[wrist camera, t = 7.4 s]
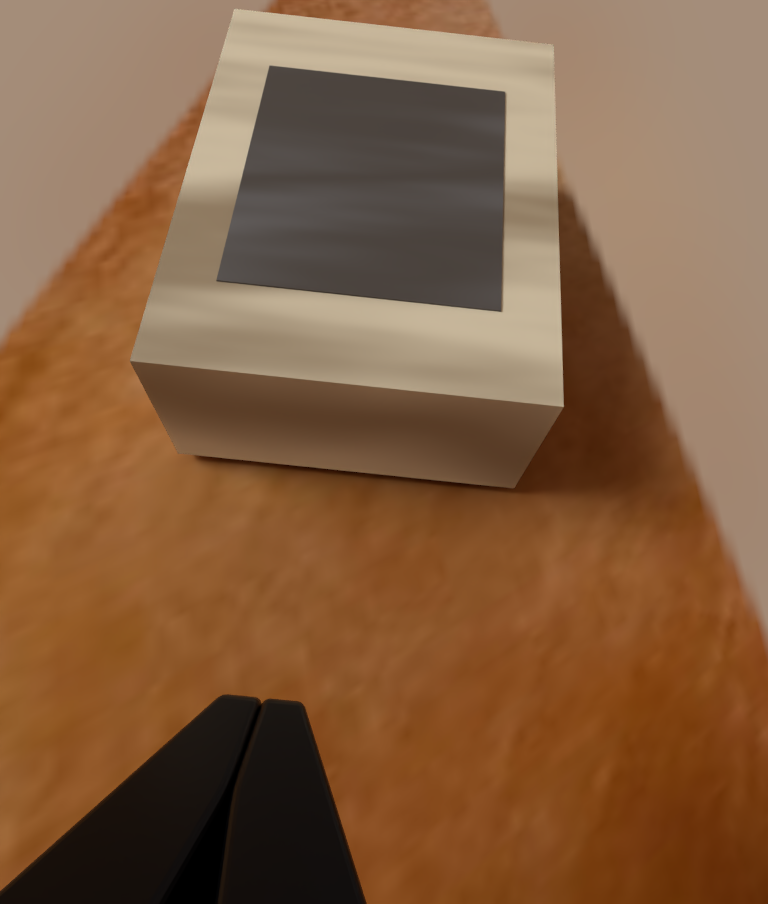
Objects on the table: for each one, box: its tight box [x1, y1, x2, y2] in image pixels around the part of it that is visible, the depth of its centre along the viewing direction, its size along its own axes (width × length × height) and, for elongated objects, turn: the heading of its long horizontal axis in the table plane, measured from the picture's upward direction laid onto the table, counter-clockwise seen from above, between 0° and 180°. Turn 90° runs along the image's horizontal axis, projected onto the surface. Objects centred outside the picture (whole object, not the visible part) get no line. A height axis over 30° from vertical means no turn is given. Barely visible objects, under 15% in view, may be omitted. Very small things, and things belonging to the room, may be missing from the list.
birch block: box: [130, 9, 564, 488], centre depth 20 cm, size 5×10×13 cm
